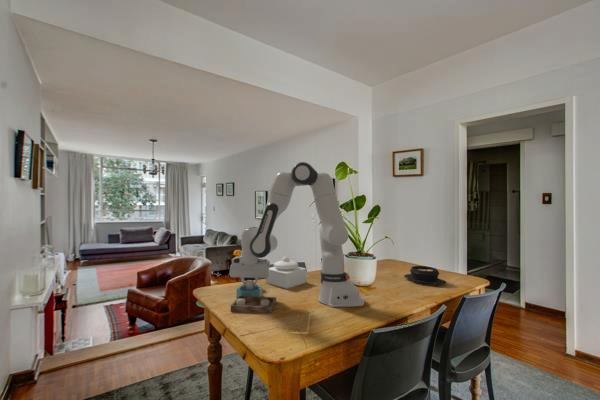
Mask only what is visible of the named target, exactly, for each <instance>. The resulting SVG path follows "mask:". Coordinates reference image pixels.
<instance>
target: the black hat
mask: <svg viewBox="0 0 600 400" xmlns="http://www.w3.org/2000/svg"><path fill="white" fill-rule="evenodd" d="M409 272H410V273H407V274H405V275H403V278H407V279H408V280H411V281H413V282H415V283H418V284H423V285H443V284H446V283H447V281H446V280H444V279H441V278H439V275H440V272H439V270H438V269H437V268H436V267H431V266H425V265H413V266H411V268H410V270H409Z"/></svg>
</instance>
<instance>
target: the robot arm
mask: <svg viewBox="0 0 600 400" xmlns="http://www.w3.org/2000/svg"><path fill="white" fill-rule="evenodd" d="M272 181H273V182H272V184H271V186H270V190H269V194H268V197H267V202H266V205H265V209H264V211H263V214H262V218H261V221H260V223H259V226H258V227H257V226H251V227H246V228H244V229H243V230H242V233H241V241H240V245H241V252H240V255H238V256H235V257H233V258H232V259H231V264H230V266H229V276H230V278H240V281H241V283H242V286H246V281H245V280H244V278H255V280H254V281H253V287H256V285H257V282H258V281H259V279H266V278H268V277H269V275H270V271H269V268H271V267H270V266H271V262H270V261H269V260H268V259H265V257H267V256H268V255H269V254H270V253H272V252H273V251H275V250H276V249H277V246H278V240H277V237H276V236H274V235H273V234H272V231H273V229H274V226H275V223H276V221H277V219H278V217H280V215H281V214H282V213H284V212H285V211H286V210H287V208H288V206H289V204H290V203H291V199H292V195H293V192H294V190H295V188H296V187H297V186H302V187H303V186H309V187H310V188H311V190H312V195H313V200H314V204H315V209H316V213H317V215H318V218H319V220H320V224H321V225H320V227H319V240H320V250H321V271H320V289H319V294H318V295H319V296H318V299H317V300H318V303H321V304H324V305H328V307H331V308H345V307H349V308H350V307H363V306H364V305H365V300H364V298H363V296H361V295H360V291H359V288H358V287H357V286H356V285H355V284H354V283H352V282H351V281H350V279H351V277H350V275H349V273H348V272H346V271H345V255H344V252H343V250H344V249H343V245H344V244H345V243H347V241H348V239H349V231H348V228H347V226H346V223H345V220H344V218H343V216H342V213H341V209H340V207H339V201H338V196H337V194H336V189H335V186H334V182H333V179H332V177H331V176H330V174H329V173H327V172H318V171H316V169H315V168H314V167H313V166H312V165H311V164H310V163H308V162H306V161H305V162H304V161H302V162H298V163H296V164H295V165H294V166H292V169H291V171H290V172H286V171H281V172H278V173H277V174H276V175H275V178H274V179H273V180H272ZM262 258H264V259H262Z"/></svg>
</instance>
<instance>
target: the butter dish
mask: <svg viewBox="0 0 600 400" xmlns="http://www.w3.org/2000/svg"><path fill="white" fill-rule="evenodd" d="M307 270H308V269H307V268H305V267H301V266H299V263H298V262H297V261H294V260H291V259H290V258H289V257H288V256H283V257H282V258H281V260H278V261H276V262H274V263H273V266H271V267H269V271H270V275H269V277H268V278H265V283H266V284H268V285H272V286H276V287H279V288H282V289H286V290H287V289H291V288H293V287H297V286H300V285H304V284H307V281H308V277H307V276H308V274H307V273H308V271H307Z"/></svg>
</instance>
